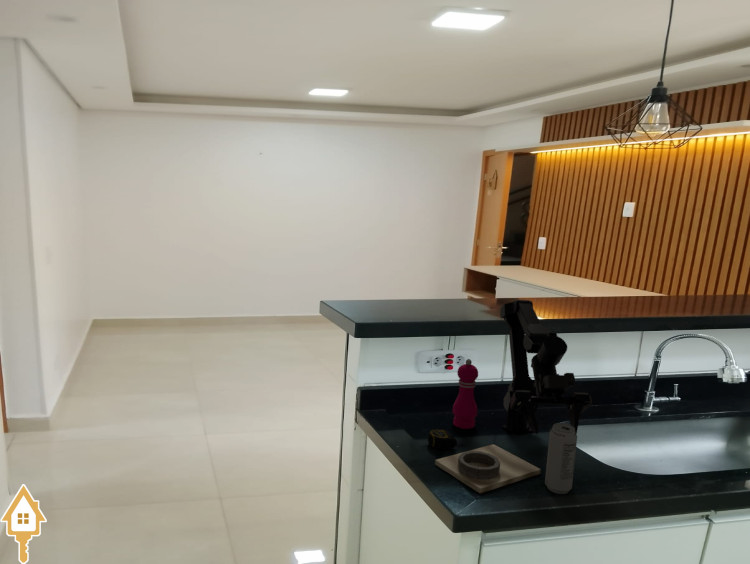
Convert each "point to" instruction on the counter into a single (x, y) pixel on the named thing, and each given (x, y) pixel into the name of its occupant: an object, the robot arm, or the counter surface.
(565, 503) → the counter surface
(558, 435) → the energy drink can
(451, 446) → the tape measure
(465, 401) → the pepper mill
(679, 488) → the counter surface
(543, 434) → the counter surface
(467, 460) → the collar board
